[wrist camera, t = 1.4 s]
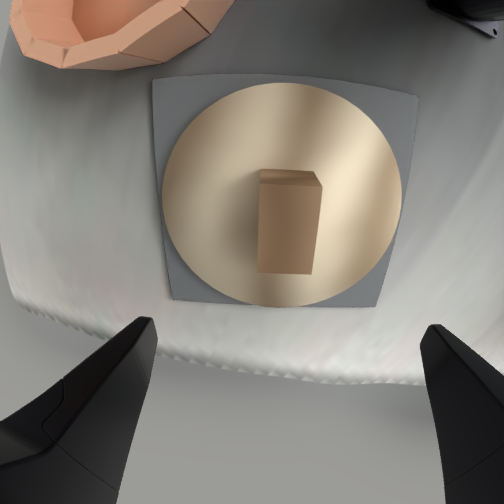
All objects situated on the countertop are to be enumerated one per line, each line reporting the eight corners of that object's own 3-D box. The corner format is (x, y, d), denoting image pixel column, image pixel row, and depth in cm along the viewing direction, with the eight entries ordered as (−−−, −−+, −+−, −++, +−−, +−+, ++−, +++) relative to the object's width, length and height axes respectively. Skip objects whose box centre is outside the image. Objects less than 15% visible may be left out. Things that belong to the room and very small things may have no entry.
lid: (411, 101, 14) (443, 107, 11) (371, 301, 22) (384, 336, 18) (160, 86, 15) (133, 85, 11) (178, 295, 22) (165, 329, 19)
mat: (415, 95, 14) (418, 96, 14) (373, 303, 22) (375, 307, 22) (155, 79, 15) (152, 79, 14) (174, 295, 23) (172, 299, 22)
